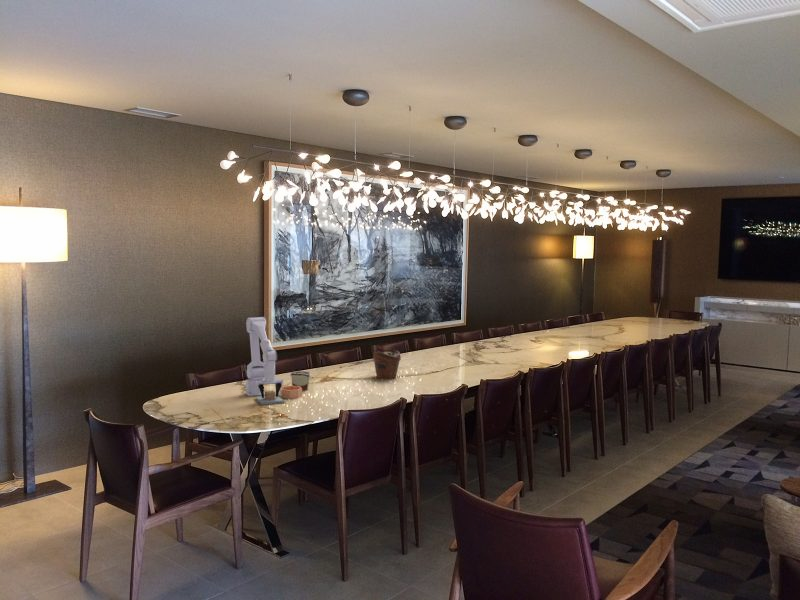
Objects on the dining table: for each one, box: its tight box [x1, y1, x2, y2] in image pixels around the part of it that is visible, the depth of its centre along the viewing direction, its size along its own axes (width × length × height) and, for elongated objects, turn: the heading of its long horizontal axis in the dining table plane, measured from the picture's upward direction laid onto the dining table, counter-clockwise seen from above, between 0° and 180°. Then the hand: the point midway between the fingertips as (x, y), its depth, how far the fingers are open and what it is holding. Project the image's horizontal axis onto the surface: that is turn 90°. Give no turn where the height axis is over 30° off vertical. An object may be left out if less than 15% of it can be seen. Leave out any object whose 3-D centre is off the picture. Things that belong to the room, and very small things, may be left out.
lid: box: [255, 390, 285, 404], centre depth 352 cm, size 12×12×5 cm
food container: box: [290, 370, 311, 391], centre depth 383 cm, size 12×6×10 cm, turn 74°
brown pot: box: [372, 349, 402, 380], centre depth 420 cm, size 18×20×18 cm
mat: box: [253, 398, 287, 406], centre depth 352 cm, size 14×14×1 cm
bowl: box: [279, 385, 303, 399], centre depth 365 cm, size 12×12×4 cm
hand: (269, 397), depth 352 cm, fingers open, 7 cm apart
